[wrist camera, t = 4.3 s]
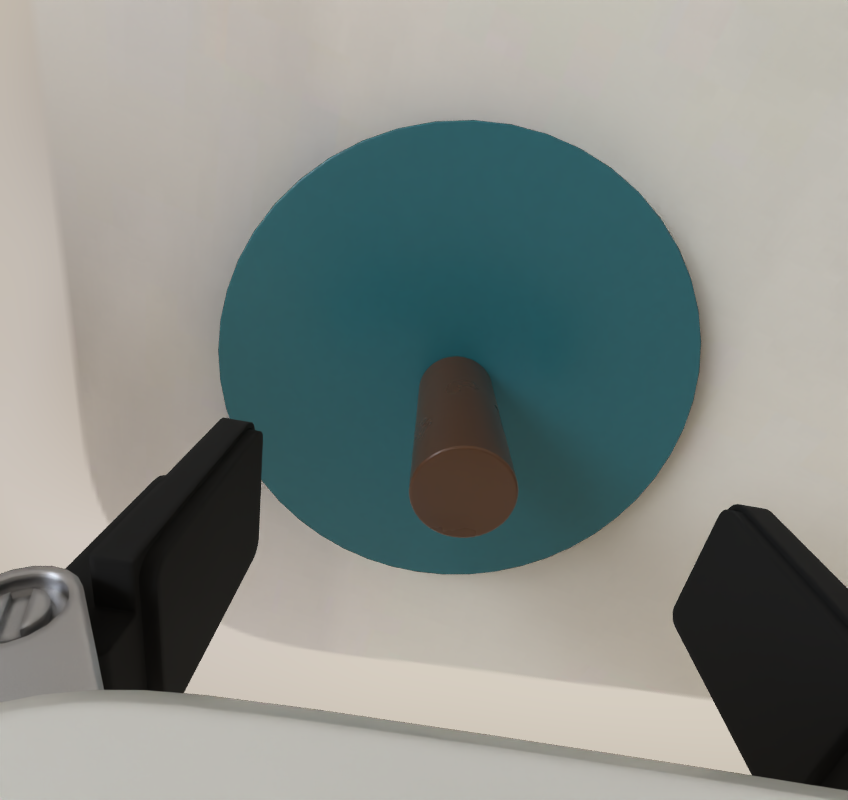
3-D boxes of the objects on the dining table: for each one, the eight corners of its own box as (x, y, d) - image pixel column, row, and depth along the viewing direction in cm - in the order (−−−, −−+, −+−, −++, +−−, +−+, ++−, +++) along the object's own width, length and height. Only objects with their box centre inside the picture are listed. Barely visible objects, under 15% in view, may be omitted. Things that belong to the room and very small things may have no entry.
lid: (228, 524, 20) (127, 686, 14) (234, 76, 14) (55, -18, 7) (602, 581, 21) (677, 762, 14) (766, 177, 15) (1030, 172, 8)
